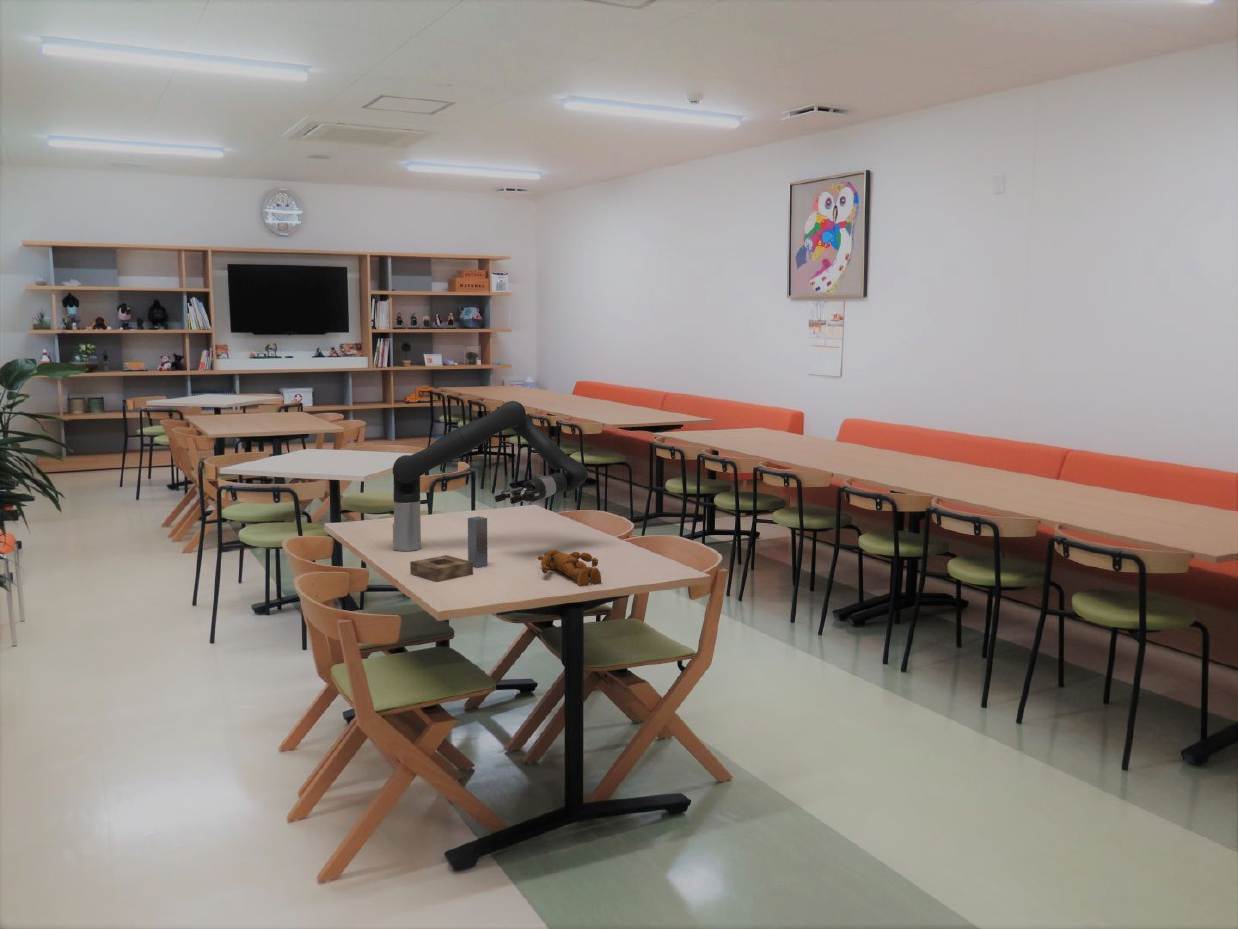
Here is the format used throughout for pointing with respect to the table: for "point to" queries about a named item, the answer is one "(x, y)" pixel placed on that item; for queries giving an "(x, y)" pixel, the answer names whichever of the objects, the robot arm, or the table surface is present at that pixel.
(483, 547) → the post
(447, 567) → the wooden block with hole
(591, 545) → the table surface
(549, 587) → the table surface
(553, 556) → the toy
